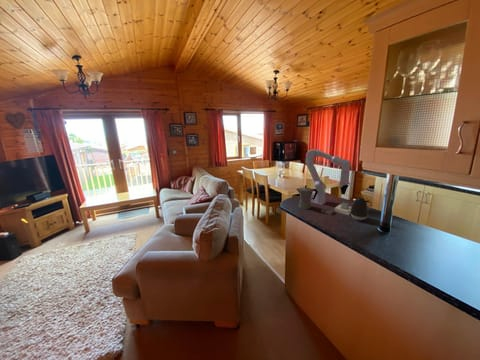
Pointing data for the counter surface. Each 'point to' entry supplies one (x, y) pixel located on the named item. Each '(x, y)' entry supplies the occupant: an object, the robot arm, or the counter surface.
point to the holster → (327, 211)
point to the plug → (345, 205)
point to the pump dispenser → (359, 209)
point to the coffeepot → (305, 197)
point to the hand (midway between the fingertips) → (343, 194)
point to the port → (343, 210)
